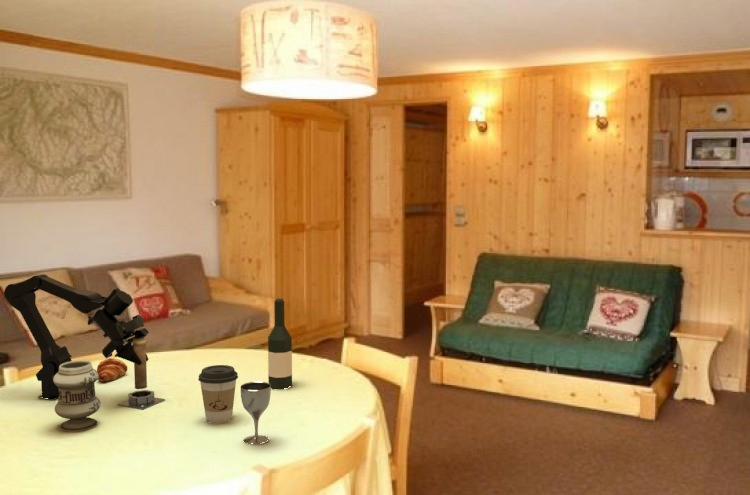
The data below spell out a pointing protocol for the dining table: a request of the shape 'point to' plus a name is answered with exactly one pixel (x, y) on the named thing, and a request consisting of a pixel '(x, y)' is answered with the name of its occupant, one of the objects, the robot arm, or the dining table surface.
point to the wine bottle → (279, 351)
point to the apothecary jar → (76, 395)
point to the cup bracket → (141, 400)
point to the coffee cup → (218, 392)
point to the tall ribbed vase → (141, 370)
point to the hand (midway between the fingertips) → (144, 362)
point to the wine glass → (255, 405)
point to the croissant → (111, 369)
